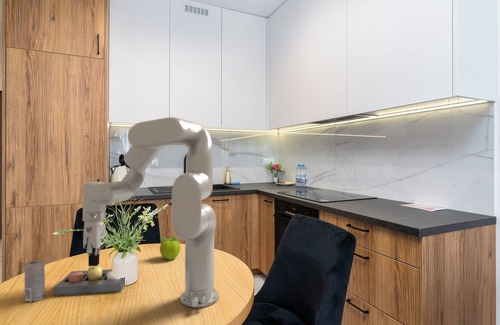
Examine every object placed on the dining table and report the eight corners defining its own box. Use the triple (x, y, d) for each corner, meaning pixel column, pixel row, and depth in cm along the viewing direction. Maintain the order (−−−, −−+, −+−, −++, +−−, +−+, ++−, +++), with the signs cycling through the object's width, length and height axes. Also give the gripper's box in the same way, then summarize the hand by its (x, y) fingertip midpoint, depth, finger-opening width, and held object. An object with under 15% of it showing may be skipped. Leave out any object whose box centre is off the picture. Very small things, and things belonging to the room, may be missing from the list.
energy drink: (41, 293, 102) (41, 258, 101) (47, 298, 98) (46, 262, 98) (22, 299, 98) (22, 263, 97) (27, 304, 94) (27, 267, 94)
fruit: (159, 256, 140) (159, 235, 140) (179, 254, 143) (179, 234, 142) (159, 263, 131) (159, 240, 131) (181, 261, 134) (181, 239, 134)
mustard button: (99, 281, 106) (99, 270, 106) (85, 282, 106) (85, 270, 106) (103, 276, 111) (103, 265, 111) (90, 276, 110) (90, 266, 110)
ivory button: (118, 285, 107) (118, 274, 107) (105, 286, 107) (105, 275, 107) (122, 280, 112) (122, 270, 112) (109, 281, 111) (109, 270, 111)
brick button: (80, 287, 105) (80, 276, 105) (66, 288, 105) (66, 277, 105) (85, 282, 110) (85, 271, 110) (72, 283, 109) (71, 272, 109)
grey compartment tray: (120, 291, 103) (120, 283, 103) (53, 296, 100) (53, 287, 100) (130, 275, 117) (130, 268, 117) (72, 279, 114) (72, 271, 114)
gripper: (98, 219, 101) (97, 272, 102) (111, 211, 116) (110, 257, 116) (74, 220, 100) (74, 273, 100) (91, 211, 115) (90, 258, 115)
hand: (93, 265), depth 108 cm, fingers closed
